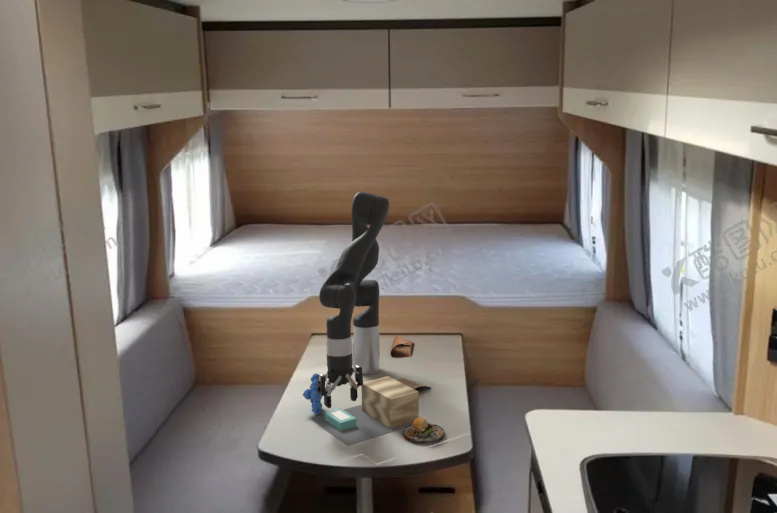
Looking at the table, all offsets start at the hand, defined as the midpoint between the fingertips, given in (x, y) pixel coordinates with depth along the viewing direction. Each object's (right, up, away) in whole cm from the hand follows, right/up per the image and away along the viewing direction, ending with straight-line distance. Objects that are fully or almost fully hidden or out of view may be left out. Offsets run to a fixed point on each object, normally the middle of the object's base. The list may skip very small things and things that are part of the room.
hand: (341, 403), depth 205 cm
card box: (0, -6, +1) cm, 6 cm away
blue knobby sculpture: (-9, -5, +10) cm, 15 cm away
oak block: (+14, -5, +6) cm, 16 cm away
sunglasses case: (+20, +6, +69) cm, 72 cm away
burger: (+24, -8, -7) cm, 26 cm away
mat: (+7, -6, +3) cm, 10 cm away
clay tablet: (+20, -2, +27) cm, 33 cm away
